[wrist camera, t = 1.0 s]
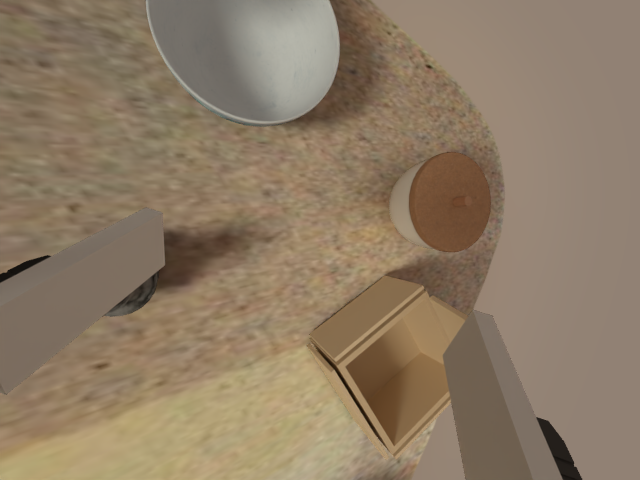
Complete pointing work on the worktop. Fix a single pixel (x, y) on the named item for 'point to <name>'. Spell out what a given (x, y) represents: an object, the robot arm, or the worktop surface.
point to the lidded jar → (441, 203)
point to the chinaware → (249, 54)
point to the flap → (448, 317)
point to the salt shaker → (135, 298)
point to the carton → (387, 362)
